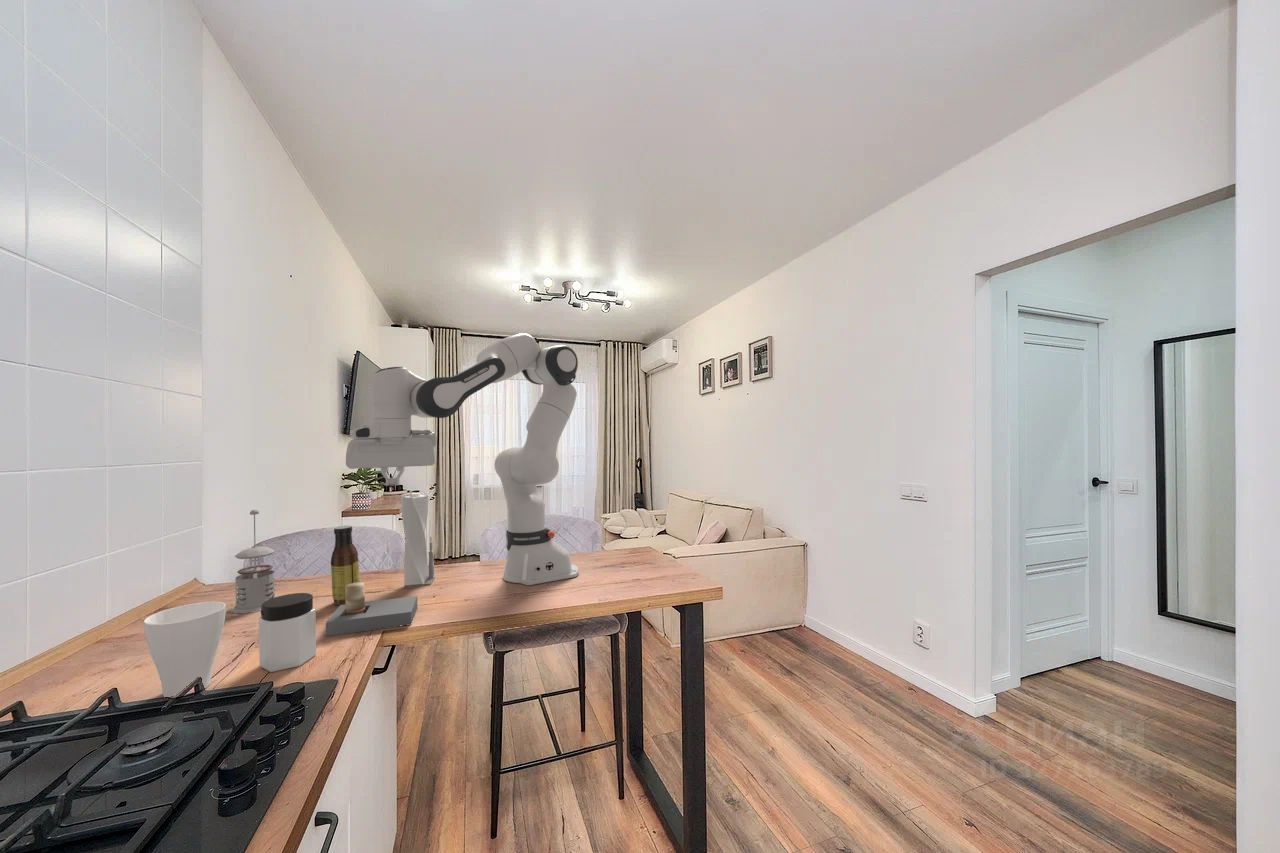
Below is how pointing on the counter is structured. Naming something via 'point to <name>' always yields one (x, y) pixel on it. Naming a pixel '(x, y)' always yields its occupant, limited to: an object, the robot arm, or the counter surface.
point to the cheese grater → (416, 540)
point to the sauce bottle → (343, 563)
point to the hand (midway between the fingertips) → (393, 485)
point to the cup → (185, 643)
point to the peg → (355, 598)
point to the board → (373, 616)
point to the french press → (254, 579)
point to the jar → (287, 631)
